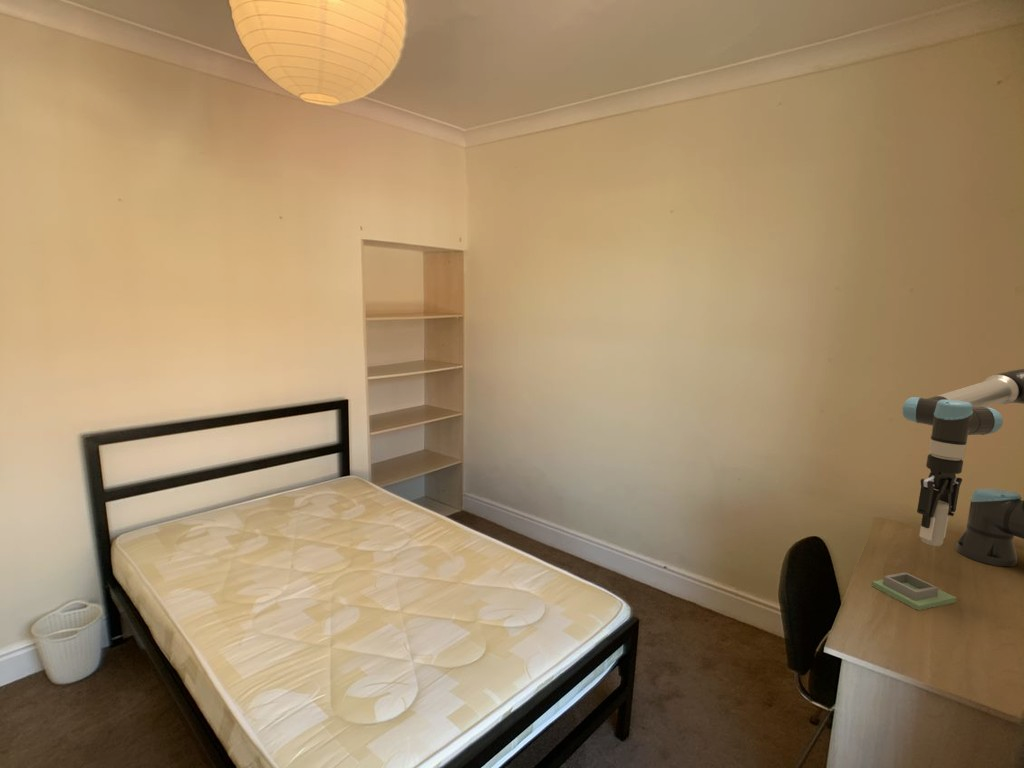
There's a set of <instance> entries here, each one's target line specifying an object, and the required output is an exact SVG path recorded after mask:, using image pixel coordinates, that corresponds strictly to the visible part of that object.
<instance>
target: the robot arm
mask: <svg viewBox="0 0 1024 768" xmlns="http://www.w3.org/2000/svg"><path fill="white" fill-rule="evenodd" d="M1008 404H1022V405H1024V368H1019V369H1014V370H1013V369H1012V370H1008V371H1003V372H999V373H997V374H993V375H990V376H988V377H986V378H985V379H984V381H982V382H979V383H974V384H972V385H968V386H965V387H962V388H957V389H955V390H951V391H948V392H945V393H942V394H938V395H935V396H931V397H929V398H924V397H916V396H913V397H909V398H908V399H906V400H905V401H904V403H903V405H902V412H901V413H902V415H903V417H904V419H905V420H907V421H910V422H914V423H916V424H921V425H922V424H923V425H928V426H932V428H931V435H930V441H929V447H928V452H929V454H927V459H926V465H925V466H926V468H927V469H929V470H930V473H929V474H928V477H927V478H926V479H925V478H921V479H920V491H919V497H918V502H917V509H916V513H918V514H919V515H922V518H921V524H920V529H919V535H918V536H919V537H920V538H921V537H922V538H925V539H927V540H932V535H933V529H934V523H935V517H933V515H934V512H935V509H936V506H937V504H938V501H939V500H941V501H944V502H947V503H948V504H949V505H948V506H949V510H948V516H947V522H946V528H945V534H944V539H945V538H946V534H947V527H948V522H949V517H954V516H955V512H956V511H957V504H958V499H959V498H958V497H959V494H960V493H959V492H960V487H961V484H962V483H963V478H961V477H958V476H957V475H958V474H959V475H960V474H961V473H962V472H963V466H964V460H963V459H964V458H965V453H966V448H967V442H968V436H971V435H972V436H975V435H976V436H978V435H979V436H980V435H981V436H984V435H985V436H986V435H989V434H994V433H996V432H999V430H1001V428H1002V426H1003V424H1004V420H1003V416H1002V414H1001V413H1000V411H999V410H996V409H994V408H992V406H994V405H1008ZM1022 498H1023V497H1022V495H1021V494H1020V493H1018V492H1015V491H1010V490H1007V489H1006V490H1005V489H999V488H977V489H975V490H973V491H972V494H971V498H970V501H969V502H970V504H969V509H968V515H967V516H968V517H967V524H966V528H965V531H964V532H963V533H962V535H960V537H959V538H958V540H957V541H956V542H957V543H956V548H955V550H956V551H957V552H958V553H959V554H960V555H962V556H964V557H967V558H969V559H970V560H973V561H976V562H978V563H979V562H980V563H982V562H983V564H986V563H987V565H992V566H996V567H1003V566H1012V567H1014V566H1013V565H1015V564H1016V565H1017V563H1018V556H1017V551H1016V546H1015V543H1014V537H1017V538H1020V539H1023V540H1024V500H1022ZM1016 565H1015V566H1016Z"/></svg>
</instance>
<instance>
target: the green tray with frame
mask: <svg viewBox="0 0 1024 768" xmlns="http://www.w3.org/2000/svg"><path fill="white" fill-rule="evenodd" d="M871 583H872V584H871V587H873V588H875V589H877V590H879V591H880V592H882V593H883V594H886V595H888V596H890V597H891V598H893V599H896V600H897V601H899V602H901V601H902V602H901V603H903V602H904V603H905V605H906V604H907V605H906V606H908V605H909V606H908V607H910V606H911V607H910V608H912V607H913V608H912V609H914V608H915V609H914V610H916V609H917V610H916V611H918V610H920V611H923V610H922V609H924V610H928V609H927V608H929V609H932V608H931V607H933V608H936V607H937V606H938V607H942V606H947V605H950V604H951V605H952V604H955V603H956V602H957V597H956V596H954V595H951V594H949V593H948V592H945V591H944V590H942V589H940V587H938V586H935V585H934V584H932V583H930V582H927V581H925V580H923V579H921V578H919V577H917V576H915V575H913V574H911V573H908V572H907V571H905V572H900V573H893V574H887V575H883V579H878V580H873V581H871ZM904 603H903V604H904Z"/></svg>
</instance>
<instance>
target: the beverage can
mask: <svg viewBox="0 0 1024 768" xmlns="http://www.w3.org/2000/svg"><path fill="white" fill-rule="evenodd" d="M948 505H949V504H948V503H947V502H944V501H941V500H939V501H938V504H937V506H936V509H935V512H934V515H933V517H935V523H934V529H933V535H932V540H927V539H925V538H922V537H920V540H921V542H923V543H924V544H927V545H930V546H934V547H940V546H943V544H944V539H945V538H944V534H945V528H946V522H947V516H948V510H949V506H948ZM946 529H947V528H946ZM945 535H946V534H945Z"/></svg>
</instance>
